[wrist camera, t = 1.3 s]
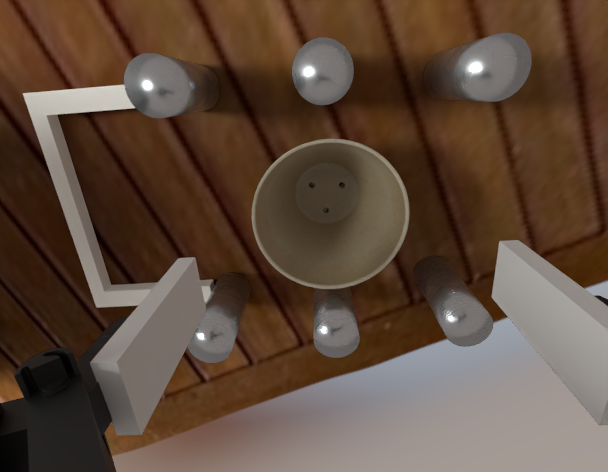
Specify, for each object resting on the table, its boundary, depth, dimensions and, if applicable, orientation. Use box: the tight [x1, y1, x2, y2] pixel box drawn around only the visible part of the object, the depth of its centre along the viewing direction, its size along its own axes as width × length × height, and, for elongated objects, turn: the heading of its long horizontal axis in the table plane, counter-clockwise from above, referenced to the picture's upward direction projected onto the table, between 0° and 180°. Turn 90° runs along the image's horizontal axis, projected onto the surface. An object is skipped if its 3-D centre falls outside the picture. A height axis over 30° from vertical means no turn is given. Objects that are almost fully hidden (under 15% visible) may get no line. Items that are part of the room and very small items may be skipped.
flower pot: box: [252, 139, 410, 289], centre depth 26 cm, size 10×10×7 cm
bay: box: [23, 85, 214, 308], centre depth 29 cm, size 11×18×1 cm, turn 4°
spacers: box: [124, 33, 532, 363], centre depth 25 cm, size 21×20×8 cm
